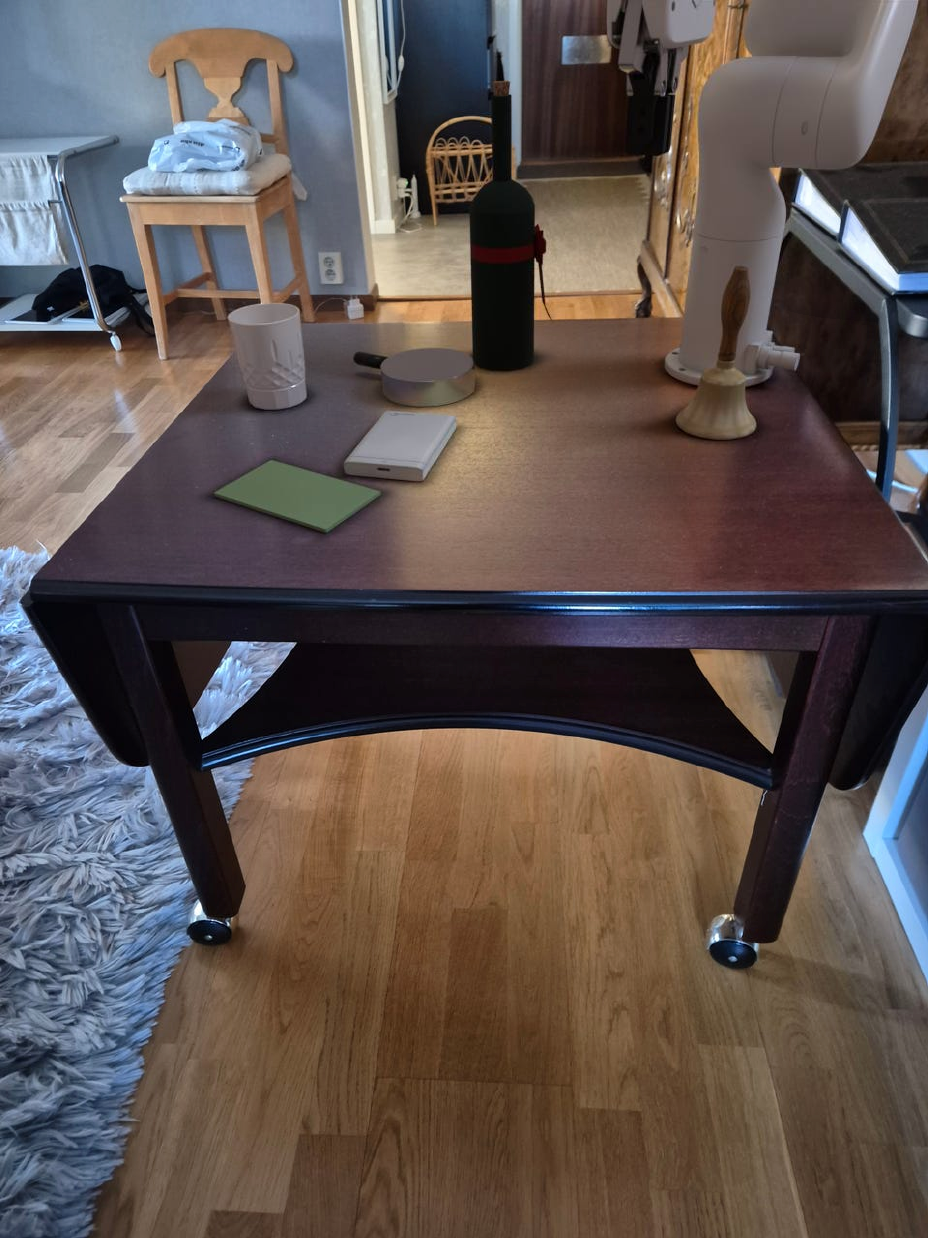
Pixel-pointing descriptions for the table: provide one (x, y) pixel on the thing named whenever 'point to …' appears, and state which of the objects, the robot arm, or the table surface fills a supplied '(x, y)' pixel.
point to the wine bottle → (503, 255)
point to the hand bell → (723, 375)
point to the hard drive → (401, 446)
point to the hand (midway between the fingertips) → (647, 152)
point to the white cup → (270, 354)
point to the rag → (298, 495)
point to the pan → (423, 375)
